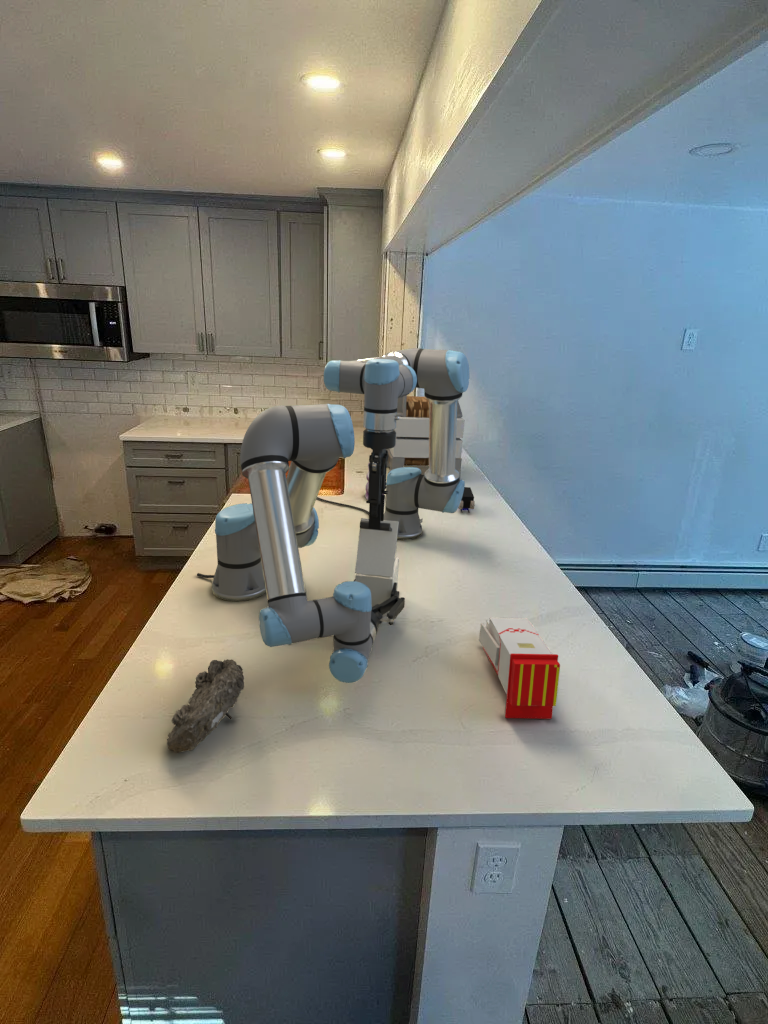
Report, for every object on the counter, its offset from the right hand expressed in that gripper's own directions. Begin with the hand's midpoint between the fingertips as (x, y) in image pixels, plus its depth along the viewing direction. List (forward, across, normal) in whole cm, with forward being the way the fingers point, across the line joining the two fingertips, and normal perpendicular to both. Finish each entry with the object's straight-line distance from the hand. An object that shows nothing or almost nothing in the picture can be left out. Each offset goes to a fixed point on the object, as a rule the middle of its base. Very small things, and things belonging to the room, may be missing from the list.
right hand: (376, 524), depth 137 cm
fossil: (+25, -44, +24) cm, 56 cm away
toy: (+25, -20, -34) cm, 47 cm away
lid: (+8, +4, 0) cm, 9 cm away
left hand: (+19, +4, 0) cm, 19 cm away
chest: (+25, +7, 0) cm, 26 cm away
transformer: (+27, +138, -1) cm, 141 cm away
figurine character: (+26, +90, -22) cm, 97 cm away
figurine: (+26, +95, +15) cm, 100 cm away
